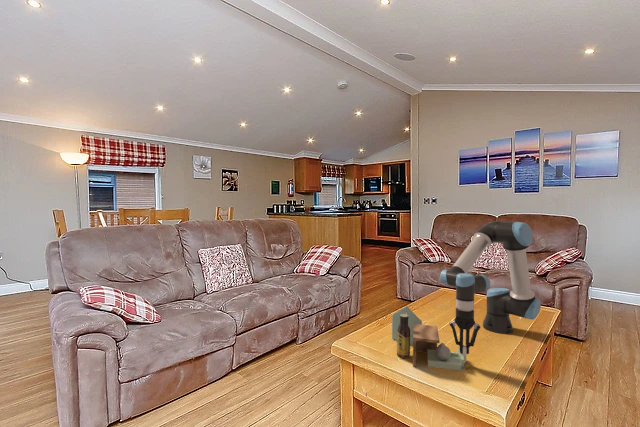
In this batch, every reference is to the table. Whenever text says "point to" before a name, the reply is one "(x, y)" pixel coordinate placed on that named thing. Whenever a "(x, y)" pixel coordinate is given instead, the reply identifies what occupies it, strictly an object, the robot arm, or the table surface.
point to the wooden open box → (424, 339)
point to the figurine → (443, 352)
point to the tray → (452, 363)
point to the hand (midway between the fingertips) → (464, 360)
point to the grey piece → (411, 321)
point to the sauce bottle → (403, 337)
